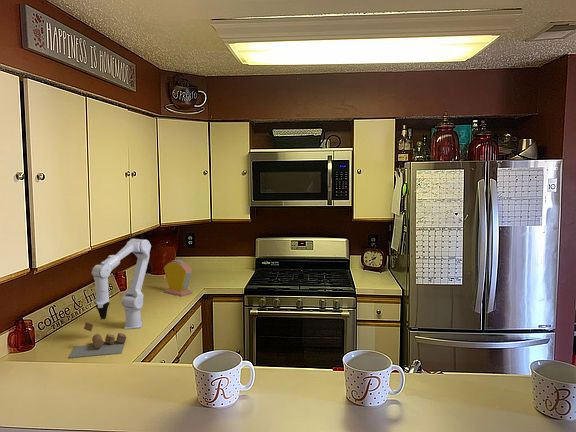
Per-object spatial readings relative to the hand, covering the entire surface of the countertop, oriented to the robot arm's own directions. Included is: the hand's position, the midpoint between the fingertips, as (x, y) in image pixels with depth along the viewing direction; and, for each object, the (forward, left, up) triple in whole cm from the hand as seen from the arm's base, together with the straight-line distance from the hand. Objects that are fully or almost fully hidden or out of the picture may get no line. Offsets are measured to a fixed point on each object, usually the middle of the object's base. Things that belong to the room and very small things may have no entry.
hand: (103, 318), depth 220 cm
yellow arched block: (-75, +34, -9) cm, 82 cm away
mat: (+17, 0, -9) cm, 19 cm away
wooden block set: (+7, +1, -5) cm, 8 cm away
